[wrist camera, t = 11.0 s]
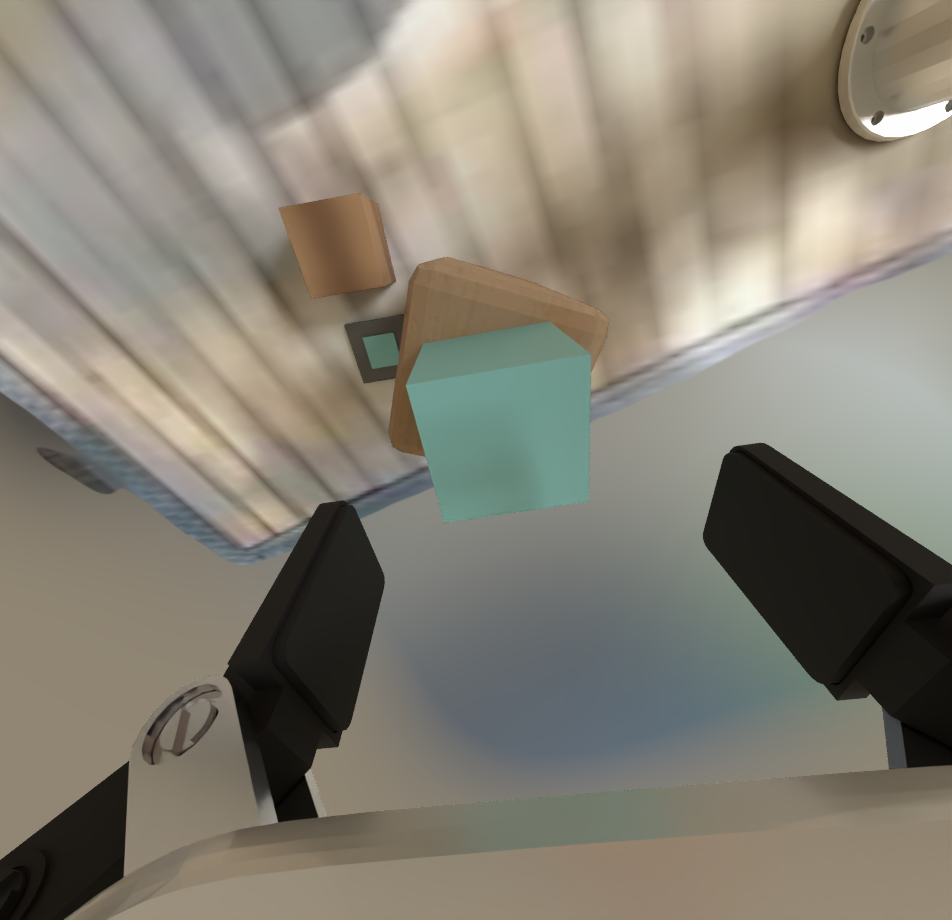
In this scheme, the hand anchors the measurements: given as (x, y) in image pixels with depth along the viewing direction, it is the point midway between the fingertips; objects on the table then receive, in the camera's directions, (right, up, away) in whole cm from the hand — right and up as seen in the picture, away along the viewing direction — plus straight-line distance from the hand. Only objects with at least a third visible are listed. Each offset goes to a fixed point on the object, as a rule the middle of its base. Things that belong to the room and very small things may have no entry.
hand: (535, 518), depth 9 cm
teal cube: (-1, +5, +9) cm, 10 cm away
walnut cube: (-13, +21, +22) cm, 33 cm away
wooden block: (-1, +15, +26) cm, 30 cm away
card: (-11, +13, +27) cm, 32 cm away
